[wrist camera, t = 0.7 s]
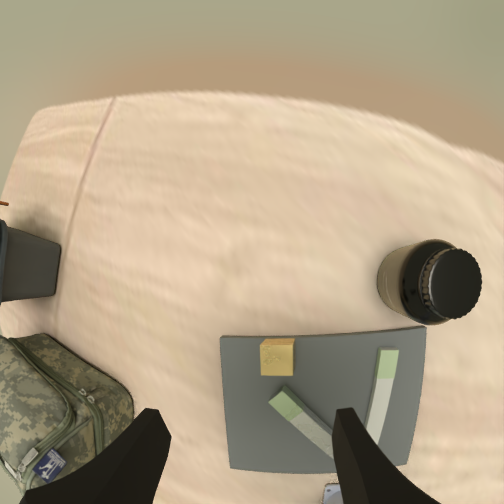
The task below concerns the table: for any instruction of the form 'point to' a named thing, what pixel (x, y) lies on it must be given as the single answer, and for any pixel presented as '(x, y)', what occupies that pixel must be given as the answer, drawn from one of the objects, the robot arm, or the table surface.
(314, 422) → the bar
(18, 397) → the lunch bag
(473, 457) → the table surface
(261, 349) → the yellow wooden cube
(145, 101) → the table surface
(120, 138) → the table surface
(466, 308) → the supplement bottle
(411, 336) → the base
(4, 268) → the storage bin
